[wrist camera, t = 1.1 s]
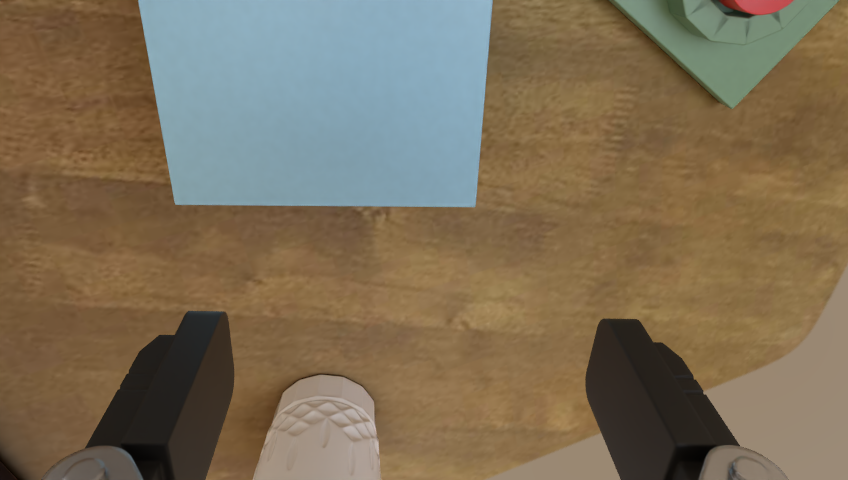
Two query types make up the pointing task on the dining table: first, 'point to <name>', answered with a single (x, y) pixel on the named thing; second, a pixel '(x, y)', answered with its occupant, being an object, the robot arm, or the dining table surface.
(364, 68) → the lid
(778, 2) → the button
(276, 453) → the white cup
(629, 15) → the green button base
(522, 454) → the dining table surface
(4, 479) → the diary
